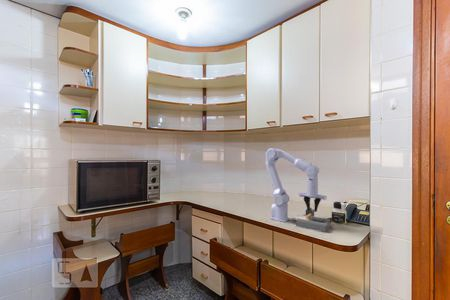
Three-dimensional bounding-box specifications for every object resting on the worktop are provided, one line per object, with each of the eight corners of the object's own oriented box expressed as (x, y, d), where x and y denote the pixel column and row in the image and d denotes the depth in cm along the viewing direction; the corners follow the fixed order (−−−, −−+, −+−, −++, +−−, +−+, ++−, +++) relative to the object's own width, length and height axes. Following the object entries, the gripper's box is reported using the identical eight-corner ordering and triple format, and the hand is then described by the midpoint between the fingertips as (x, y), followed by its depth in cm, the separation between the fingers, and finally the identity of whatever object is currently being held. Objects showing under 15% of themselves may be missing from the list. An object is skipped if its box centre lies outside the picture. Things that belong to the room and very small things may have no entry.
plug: (305, 220, 135) (305, 208, 135) (307, 218, 138) (307, 206, 138) (312, 221, 132) (312, 209, 132) (314, 219, 135) (314, 207, 135)
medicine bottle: (331, 223, 129) (331, 202, 129) (333, 220, 135) (333, 200, 135) (345, 225, 125) (345, 204, 126) (346, 222, 131) (346, 202, 131)
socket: (296, 226, 124) (296, 218, 124) (303, 220, 133) (303, 214, 133) (325, 232, 115) (325, 224, 115) (330, 226, 124) (330, 219, 124)
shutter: (294, 218, 127) (294, 214, 127) (299, 216, 132) (299, 211, 132) (308, 221, 122) (308, 216, 122) (311, 218, 128) (312, 213, 128)
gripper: (327, 187, 123) (327, 211, 123) (301, 184, 132) (301, 207, 132) (324, 188, 118) (324, 214, 118) (297, 186, 127) (297, 209, 126)
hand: (312, 210), depth 124 cm, fingers open, 3 cm apart
